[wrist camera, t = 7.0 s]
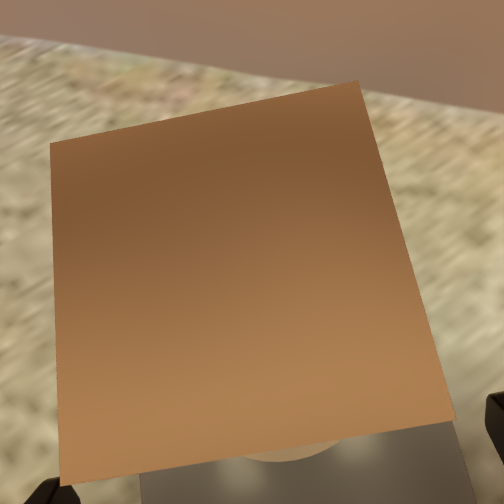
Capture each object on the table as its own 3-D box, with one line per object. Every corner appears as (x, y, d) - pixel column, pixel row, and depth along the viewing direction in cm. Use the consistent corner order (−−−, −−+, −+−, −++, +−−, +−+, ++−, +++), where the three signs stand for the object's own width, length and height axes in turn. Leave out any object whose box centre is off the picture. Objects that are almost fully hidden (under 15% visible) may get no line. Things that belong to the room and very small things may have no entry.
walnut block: (338, 385, 16) (457, 419, 5) (224, 405, 16) (60, 487, 5) (314, 274, 17) (357, 80, 6) (208, 293, 18) (50, 143, 6)
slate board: (483, 567, 15) (505, 591, 14) (167, 622, 16) (153, 651, 14) (380, 220, 19) (388, 206, 18) (131, 271, 20) (117, 262, 18)
